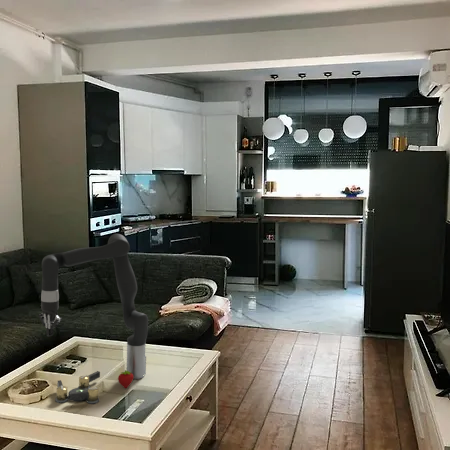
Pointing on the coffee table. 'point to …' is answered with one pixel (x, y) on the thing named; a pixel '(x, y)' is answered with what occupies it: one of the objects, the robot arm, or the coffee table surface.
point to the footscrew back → (88, 379)
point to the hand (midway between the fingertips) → (49, 335)
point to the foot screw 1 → (61, 391)
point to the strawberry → (125, 379)
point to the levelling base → (77, 399)
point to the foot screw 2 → (85, 394)
